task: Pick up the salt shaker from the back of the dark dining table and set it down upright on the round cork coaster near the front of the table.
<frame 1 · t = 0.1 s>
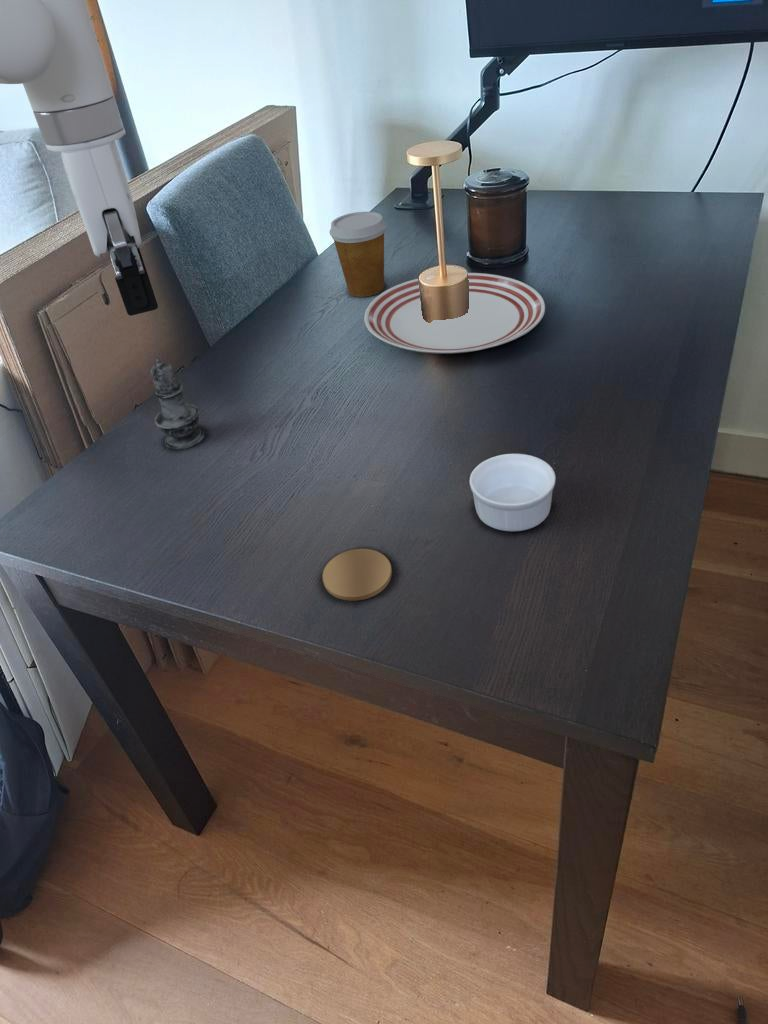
hand: (138, 295, 83), 22 cm above the table, tool pointing down, fingers open, 9 cm apart
coaster: (357, 576, 77), on the table
disposable coffee cup: (366, 290, 133), on the table
ramekin: (512, 510, 82), on the table
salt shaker: (185, 439, 102), on the table
dinner plate: (454, 327, 118), on the table
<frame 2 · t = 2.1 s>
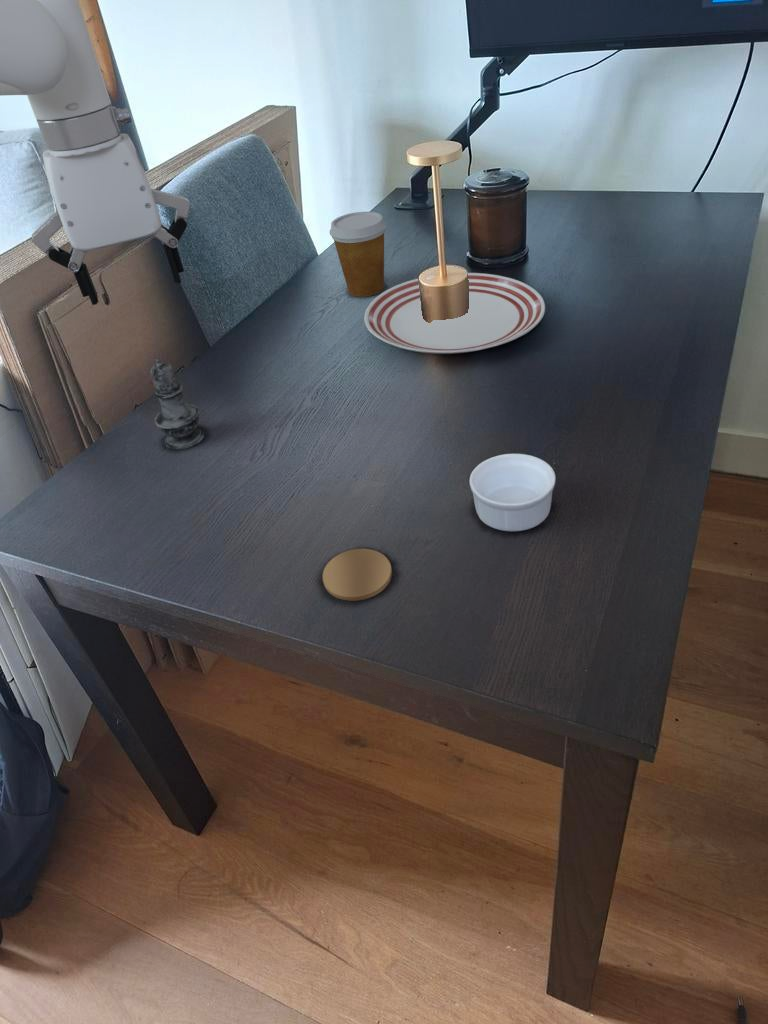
hand: (136, 289, 88), 21 cm above the table, tool pointing down, fingers open, 9 cm apart
nothing on the table moved.
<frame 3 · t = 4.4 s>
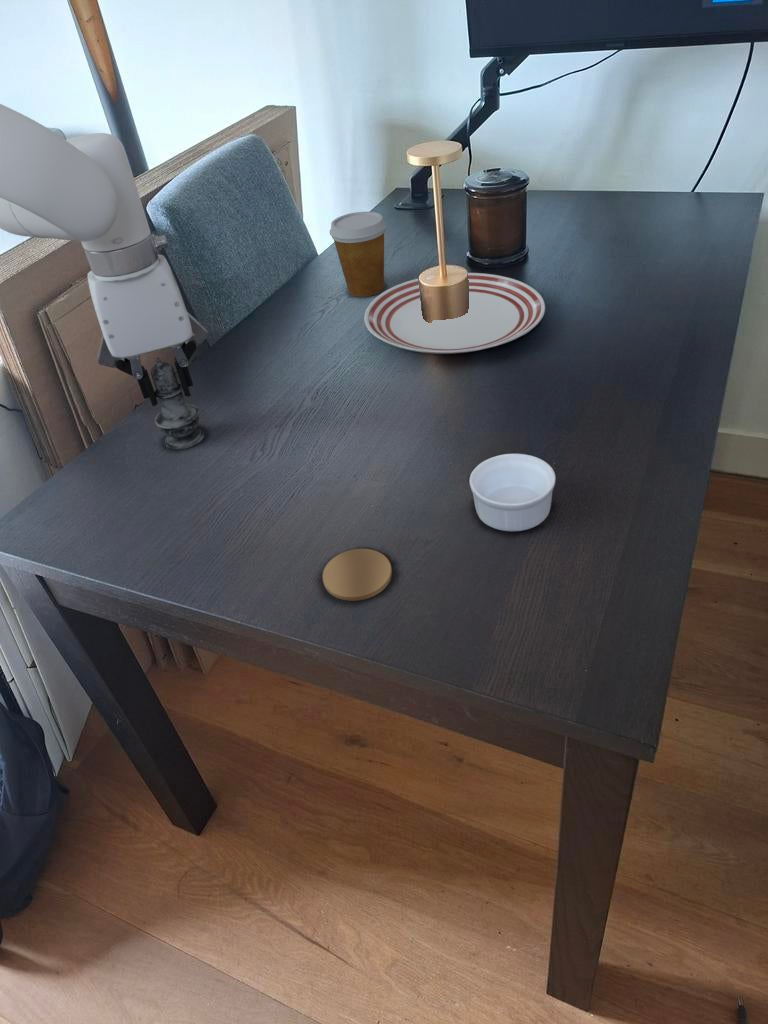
hand: (170, 395, 97), 7 cm above the table, tool pointing down, fingers closed on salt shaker, 3 cm apart
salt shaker: (185, 439, 102), on the table, touching gripper
everything else where it was.
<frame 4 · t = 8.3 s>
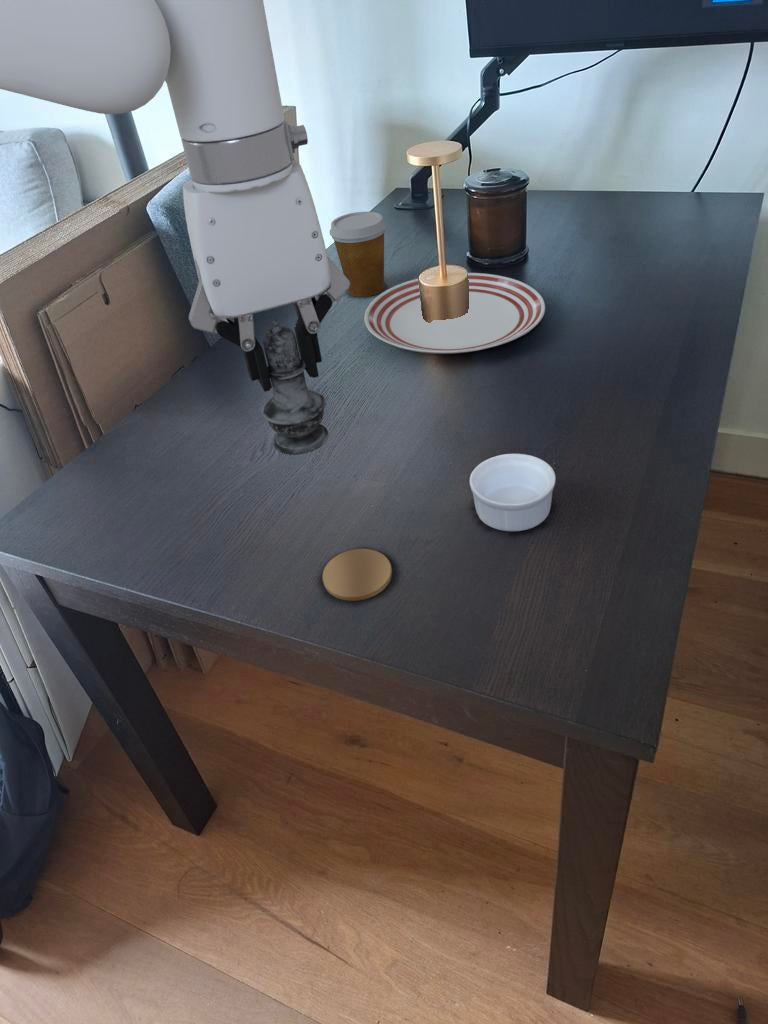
hand: (287, 375, 67), 21 cm above the table, tool pointing down, fingers closed on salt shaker, 3 cm apart
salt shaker: (301, 440, 71), point 14 cm above the table, touching gripper
everything else where it was.
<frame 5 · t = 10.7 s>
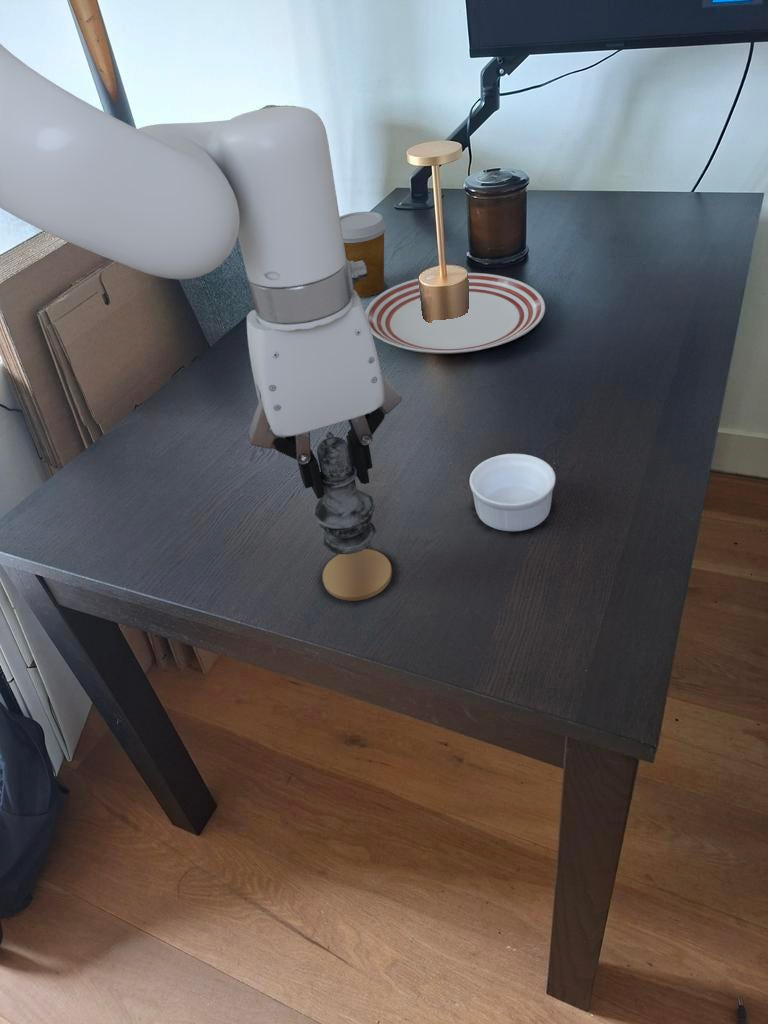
hand: (338, 481, 69), 12 cm above the table, tool pointing down, fingers closed on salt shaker, 3 cm apart
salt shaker: (349, 537, 73), point 5 cm above the table, touching gripper
everything else where it was.
when the fingers open (7 cm above the table, at t = 12.2 s): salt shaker stays where it is, resting on coaster.
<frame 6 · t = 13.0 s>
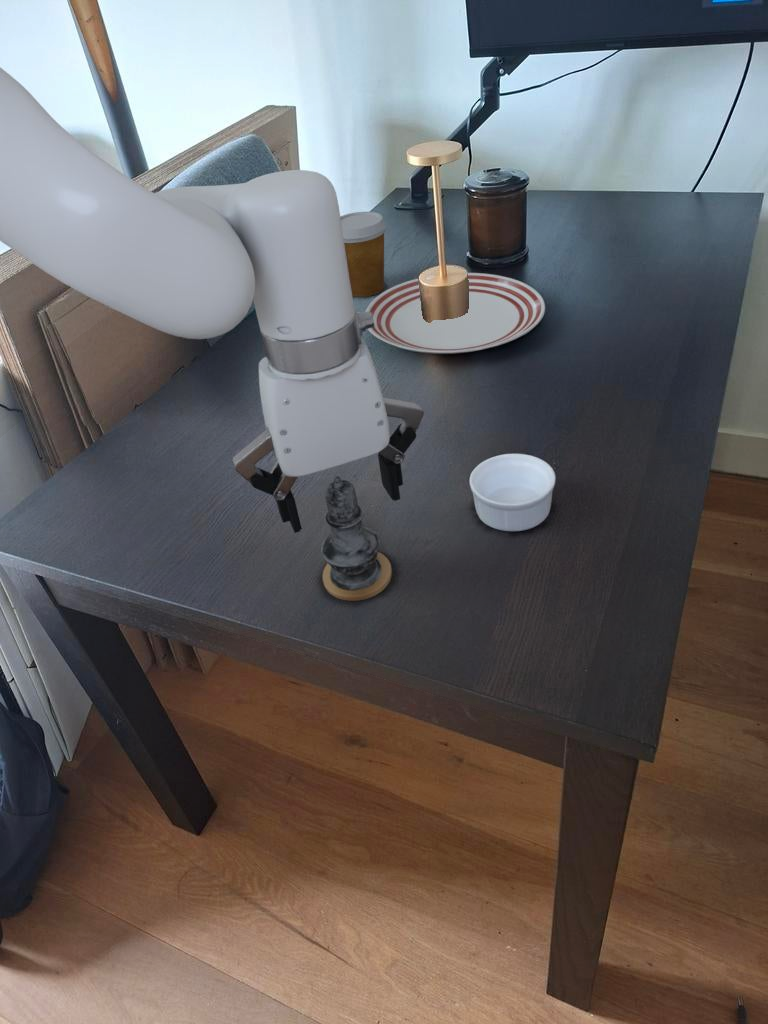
hand: (343, 507, 71), 9 cm above the table, tool pointing down, fingers open, 9 cm apart
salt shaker: (355, 573, 76), resting on coaster
everything else where it was.
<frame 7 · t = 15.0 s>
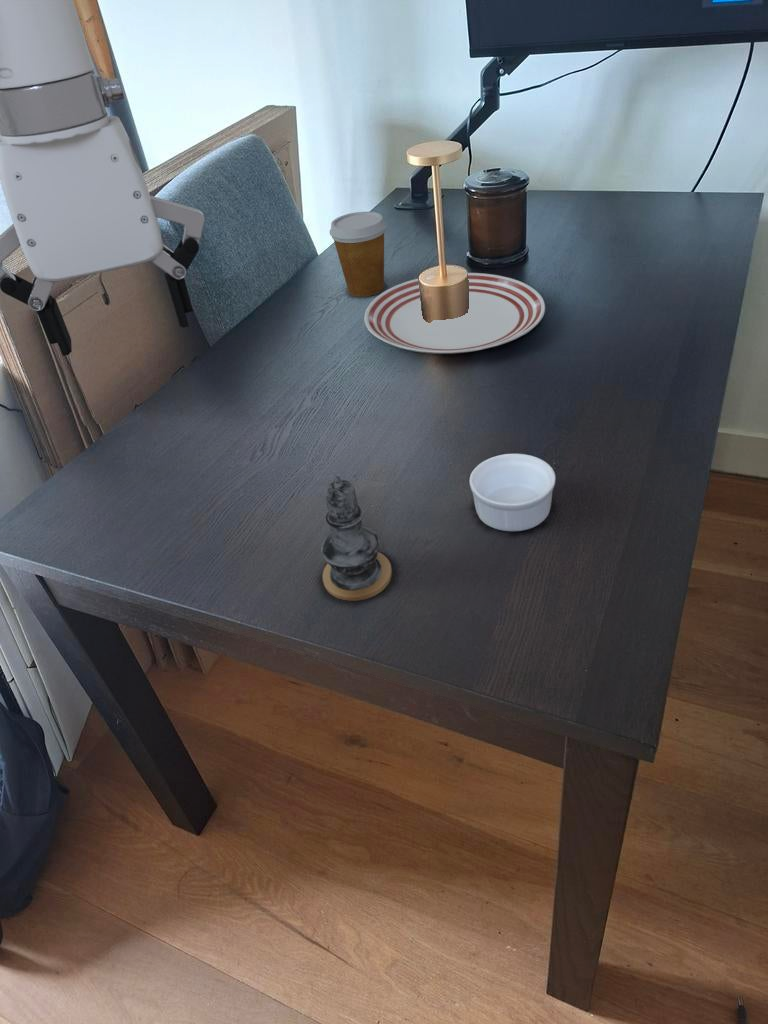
hand: (126, 334, 64), 27 cm above the table, tool pointing down, fingers open, 9 cm apart
nothing on the table moved.
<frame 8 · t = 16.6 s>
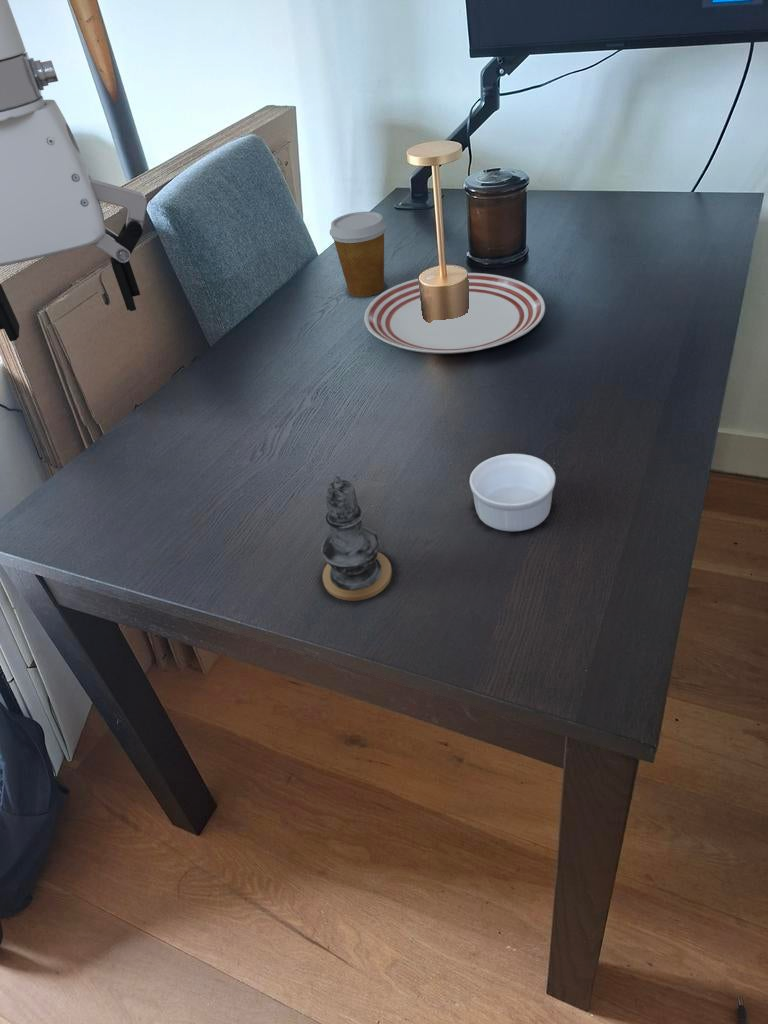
hand: (73, 319, 64), 28 cm above the table, tool pointing down, fingers open, 9 cm apart
nothing on the table moved.
at the end: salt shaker 0.1 cm off-centre on the coaster, point 0.4 cm above the coaster's base; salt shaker tilted 0°; the gripper is holding nothing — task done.
